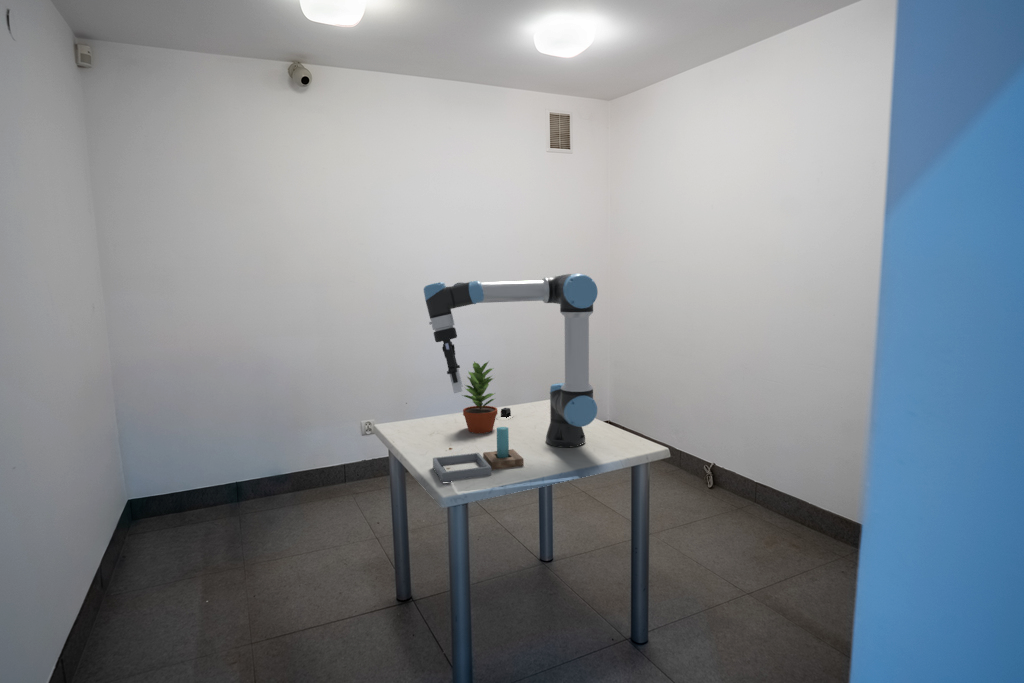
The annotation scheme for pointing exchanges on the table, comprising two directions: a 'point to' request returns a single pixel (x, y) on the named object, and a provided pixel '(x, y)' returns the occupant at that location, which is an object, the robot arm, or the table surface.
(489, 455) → the hole block
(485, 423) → the potted plant
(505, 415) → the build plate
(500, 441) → the ball
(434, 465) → the tray
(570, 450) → the table surface
